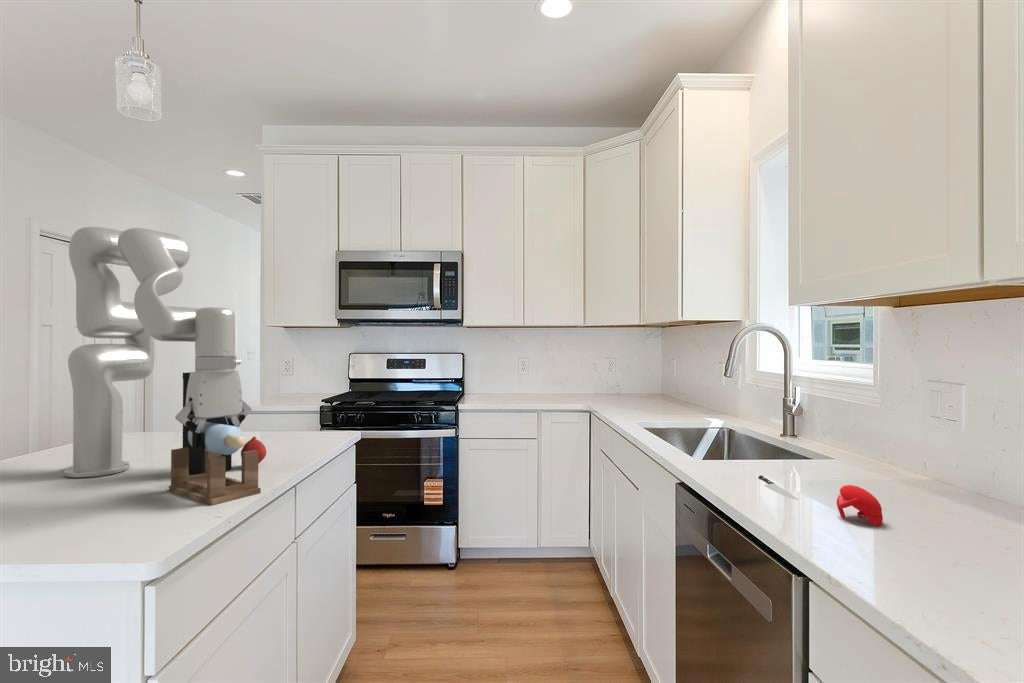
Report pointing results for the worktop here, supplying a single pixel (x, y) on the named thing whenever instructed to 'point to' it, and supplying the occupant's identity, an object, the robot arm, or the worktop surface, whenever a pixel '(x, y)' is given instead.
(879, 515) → the cap
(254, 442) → the onion
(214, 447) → the blue rolling pin
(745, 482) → the worktop surface
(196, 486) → the holder
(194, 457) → the tall black box
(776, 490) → the chef's knife
